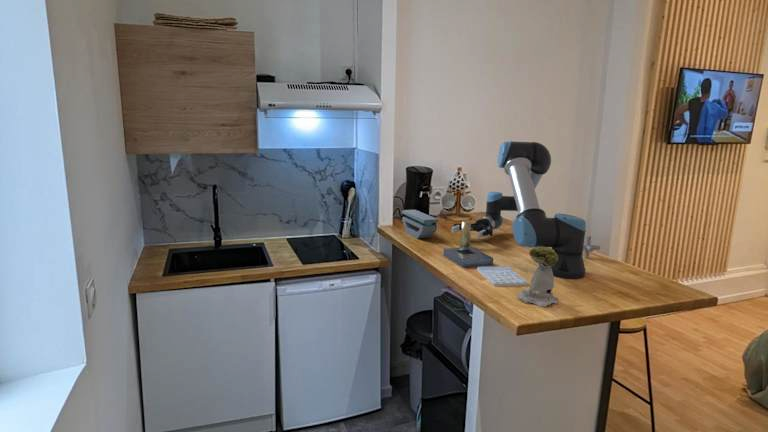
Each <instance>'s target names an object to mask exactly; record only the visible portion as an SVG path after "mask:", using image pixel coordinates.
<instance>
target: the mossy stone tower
mask: <svg viewBox="0 0 768 432" xmlns="http://www.w3.org/2000/svg"><path fill="white" fill-rule="evenodd" d="M528 254H529V255H530V258H531V260H533V262H535V263H537V264H538V266H537V267H536V269H535V270H534V272H533V275H532V278H531V281H530V284H529V289H523V290H521V291H520V293H517V297H518V298H519V299H520V300H522V301H523V302H522V303H524V304H525V303H526V304H527V303H529V304H530V303H531V304H534V305H535V306H538V307H548V306H550V305H552V306H554V304H555V305H556V304H559V303H558V302H559V298H557V297H556V296H554V293H553V292H552V290H553V289H554V287H555V280H556V278H555V276H553V272H552V269H551V266H554V265H555V263H556V262H557V261H558V256H557V254H556V252H555V251H554V250H553V249H552V247H542V246H541V247H532V248H531V249H530V251H529V253H528ZM553 303H554V304H553Z"/></svg>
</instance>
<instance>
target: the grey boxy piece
mask: <svg viewBox="0 0 768 432" xmlns="http://www.w3.org/2000/svg"><path fill="white" fill-rule="evenodd" d="M401 214H403V215H404V216H402V224H403V227H404V229H405V233H406V234H407V235H409V236H410V237H413V238H415V239H416V240H418V239H431V238H432V237H433V235H434V234H435V233H436V231H437V230H438V225H437V224H435V223H439V219H438V218H436V217H434V216H432V215H429V214H426V213H424V212H421V210H417V209H404V210H403V209H402V210H401Z"/></svg>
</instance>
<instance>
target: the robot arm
mask: <svg viewBox="0 0 768 432" xmlns="http://www.w3.org/2000/svg"><path fill="white" fill-rule="evenodd" d="M551 164H552V157H551V153H550V150H549V149H548V148H547V147H546V146H545V145H543V144H542V143H539V142H536V141H512V140H511V141H504V142H502V143H501V145H500V147H499V150H498V154H497V166H498V168H501V169H504V172H505V174H506V175H507V176H509V180H510V184H511V188H512V189H511V190H512V191H513V196H511V195H510V196H509V195H503V193H502V192H500V191H489V192H488V193H487V194H486V195H487V197H486V207H485V208H486V209H485V216H484V217H482V218H479V219H477V220H476V221H475V222H473V223H472V222H471V232H473V231H474V232H477V238H478V239H480V238H483V237H485V236H486V237H487V236H490V237H493V233H494V232H493V231H494V230H498V228H500V227H501V226H502V225H503V224H504V223H503V222H504V219H503V217H502V212H503V211H504V212H505V211H510V212H518V213H517V214H516V216H515V219H514V220H513V222H512V233H513V237H514V240H515V242H516V244H517V245H518V246H520V247H523V248H524V247H525V248H526V247H527V248H531V249H532V248H533V247H534V248H535V247H541V246H542V247H548V248H551V249H553V250H554V251H555V252H556V254H557V256H558V261H557V262H556V263H555V265H554V266H551V269H552V272H553V277H556V278H561V279H563V278H564V279H570V280H571V279H573V280H574V279H582V278H585V276H586V268H585V263H584V262H585V261H584V258H583V257H584V256H583V254H584V249H583V247H584V242H585V240H586V238H585V236H586V231H587V227H586V226H587V222H586V220H584V218H582V217H579V216H575V215H571V214H566V213H555V214H554V217H547V214H546V212H545V210H543V209H542V208H541V207H540V204H539V201H538V196H537V192H536V190H535V189H536V188H537V186H538V185H539V183H540V181H541V179H542V177H543V175H544V174H546V173H548V171H549V169H550V167H551ZM461 225H462V222H461V223H454V224H453V226H452V227H451V234H454V233H457V232H460V231H461Z"/></svg>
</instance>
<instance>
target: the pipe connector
mask: <svg viewBox="0 0 768 432" xmlns="http://www.w3.org/2000/svg"><path fill="white" fill-rule="evenodd" d="M591 238H592V236H591V235H586V238H585V241H584V247H583V250H584V256H583V257H585V258H584V259H587V258H588V259H589V257H590V253H593V252H594V250H596V251H597V250H599V251H600V249H601V246H600V245H593V244H591V241H592V240H591Z"/></svg>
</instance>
